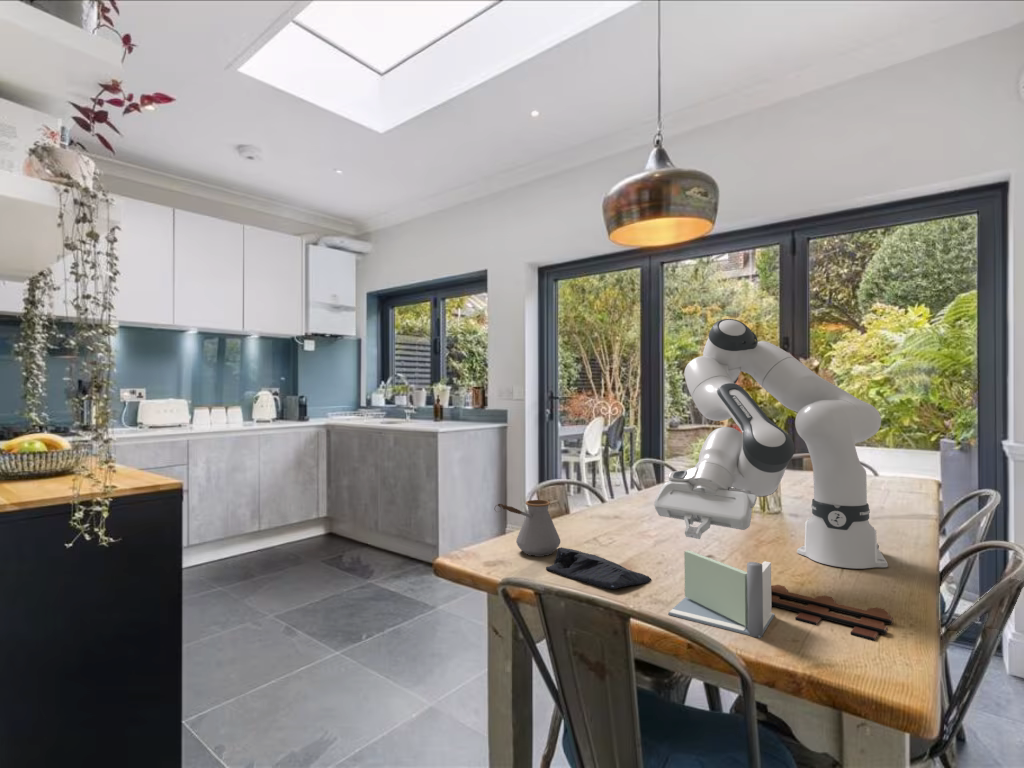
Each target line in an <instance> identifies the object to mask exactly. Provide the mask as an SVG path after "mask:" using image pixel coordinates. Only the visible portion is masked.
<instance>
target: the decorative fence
mask: <svg viewBox="0 0 1024 768" xmlns="http://www.w3.org/2000/svg"><path fill="white" fill-rule="evenodd" d="M783 599H784V600H783ZM785 599H786V600H785ZM787 600H790V601H794V602H798V603H802V604H806V605H802V604H797V603H794V602H790V601H787ZM771 603H772V606H773V607H777V608H780V609H785V610H789V611H792V612H797V613H798V614H797V615H796V616H795V621H798V622H801V623H805V624H808V625H809V624H810V625H813V626H817V625H819V623H820V622H821V621H822V620H827V621H830V622H835V623H839V624H842V625H847V626H850V627H853V628H852V629H851V631H850V635H851V636H854V637H858V638H862V639H866V640H868V641H872V642H875V641H876V640H877V638H878V637H879V635H880V634H882V635H887V633H888V631H889V627H888V626H887V625H886V624H888V625H892V624H893V623H894V620H895V617H893V616H891V615H890V613H889V612H888V611H887V610H886V609H885V608H881V607H869V608H867V609H866V610H865V609H862V608H857V607H853V606H849V605H844V604H841V603H837V601H836V600H835V599H834V598H833V597H832V596H829V595H817V596H816V597H811V596H807V595H803V594H800V593H799V594H798V593H794V592H789V590H788V588H787V587H786V586H785V585H780V584H774V585H773V584H771ZM831 611H834V612H831ZM835 612H838V613H835ZM839 613H842V614H846V615H851V616H855V617H859V618H854V617H850V616H846V615H842V614H839ZM877 636H878V637H877Z"/></svg>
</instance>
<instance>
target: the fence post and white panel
mask: <svg viewBox="0 0 1024 768" xmlns="http://www.w3.org/2000/svg"><path fill="white" fill-rule="evenodd" d="M746 572H747V600H748V632H749V633H750V635H749V636H750V637H753V638H758V635H761V638H763V637H764V633H763V623H764V622H765V620H766V619H767V617H768V616H769V614H770V613H772V603H771V586H772V562H770V561H764V560H763V562H762V563H760V562H757V561H756V562H755V561H749V562H746Z"/></svg>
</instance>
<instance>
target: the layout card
mask: <svg viewBox="0 0 1024 768" xmlns="http://www.w3.org/2000/svg"><path fill="white" fill-rule="evenodd" d="M668 616H673V617H677V618H679V619H684V620H688V621H692V622H696V623H699V624H700V623H701V624H703V625H708V626H712V627H716V628H719V629H722V630H723V629H724V630H727V631H731V632H736V633H738V634H743V635H747V636H750V633H749V632H748V625H747V626H744V625H742V624H740V623H738V622H736V621H734V620H732V619H730V618H728V617H726V616H724V615H722V614H720V613H718V612H716V611H714V610H712V609H710V608H707V607H705V606H703V605H701V604H699V603H697V602H695V601H693V600H691V599H689V598H687V597H685V596H684V598H683V599H682V600H680V601H679V602H678V604H676V605H675V606H674V607H672V609H671V610H669V611H668ZM774 617H775V613H773V612H771V613H770V614H769V616H768V617H767V619H766V620H765V622H764V623H763V634H764V633H765V632H766V630H767V629H768V626H769V625H770V623H771V622H772V620H773V619H774ZM757 638H758V639H761V638H762V637H761V635H758V637H757Z"/></svg>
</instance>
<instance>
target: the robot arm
mask: <svg viewBox="0 0 1024 768" xmlns="http://www.w3.org/2000/svg"><path fill="white" fill-rule="evenodd" d="M702 352H703V353H702V355H701V356H697V357H695V358H693V359H691V360H690V361H689V362H688V363H687V365H686V366H685V368H684V373H683V375H684V379H685V383H686V387H687V389H688V392H689V394H690V397H691V399H692V401H693V403H694V405H695V406H696V409H697V410H698V411H699V412H700V414H701V415H702V416H703V417H704V418H705V419H707V420H710V421H715V422H720V421H727V420H730V419H731V418H732V420H733V421H734V423H735V424H736V425H737V427H738V429H736V428H734V427H731V426H730V427H729V426H722V427H718V428H715V429H714V430H712V431H711V432H710V433H709V434H708V436H707V437H706V439H705V440H704V442H703V444H702V447H701V449H700V451H699V454H698V462H697V463H696V464H695V465H694V467H692V468H691V467H690V468H688V469H682V470H676V471H671V472H669V474H668V481H666V482H665V483H664V484H663V485H662V486H661V487H660V490H659V491H658V493H657V495H656V497H655V500H654V503H653V505H654V509H655V512H657V514H658V516H659V517H664V518H671V519H676V520H682V521H684V523H685V526H686V527H685V529H684V535H685V537H687V538H691V539H697V540H700V539H701V537H702V535H703V534H704V533H705V532H706V531H708V530H709V529H710V528H711V525H713V526H719V527H724V528H729V529H734V530H735V529H736V530H741V531H742V530H743V531H745V530H747V529H748V528H750V527H751V522H752V512H753V511H752V510H753V509H752V508H755V505H756V502H757V499H758V498H757V497H761V498H762V497H768V496H771V495H773V494H775V492H777V491H778V489H779V486H780V483H781V481H782V478H783V477H784V474H785V472H786V471H787V467H788V465H789V463H790V462H791V460H792V458H793V457H794V454H795V450H796V449H795V443H794V440H793V439H792V437H791V436H790V435H789V433H787V432H786V431H785V430H784V429H782V428H781V427H780V426H778V425H777V424H776V423H774V421H772V419H770V418H769V417H768V416H767V414H766V413H765V412H764V410H763V409H762V408H761V407H760V406H759V405H758V403H757V402H756V401H755V400H754V399H753V397H752V396H751V395H750V394H749V392H748V391H746V390H745V388H743V387H742V386H741V385H739V384H737V381H738V380H739V376H740V374H741V372H742V373H746V374H748V375H750V376H751V377H752V378H753V380H755V382H757V383H758V384H759V386H760V387H762V388H763V389H764V390H765V391H766V392H767V393H768V394H769V395H771V396H772V397H773V398H774V399H775V400H777V402H779V403H780V404H781V405H783V406H784V407H785V408H787V409H789V410H791V411H793V412H796V413H797V414H796V416H795V420H794V426H795V429H796V433H797V435H798V436H799V437H800V438H801V439H802V440H803V441H804V442H805V445H806V447H807V450H808V454H809V458H810V461H811V466H812V472H813V474H812V475H813V499H812V501H811V507H810V508H811V514H812V516H811V517H810V518H809V519H807V520H806V521H805V522H804V523H805V524H804V525H805V527H804V544H803V545H802V546H800V547H798V548H797V550H796V553H797V554H798V555H802V556H805V557H806V558H809V559H810V560H812V561H814V562H817V563H820V564H823V565H828V566H832V567H837V568H845V569H857V570H858V569H871V568H888V567H889V566H888V565H889V564H888V562H887V559H886V558H885V557H884V555H883V553H882V551H880V548H879V547H880V545H879V544H878V542H877V539H878V538H877V536H878V535H877V530H876V529H875V527H874V526H872V525H871V523H870V521H869V520H870V512H871V511H870V510H871V509H870V506H869V503H868V501H867V499H868V496H867V493H868V492H867V491H868V490H867V488H868V487H867V471H866V469H865V468H864V466H863V465H862V463H861V461H860V459H859V456H858V452H857V449H856V444H859V443H863V442H865V441H866V440H868V439H870V438H872V437H874V436H875V435H876V434H877V433H878V432H879V430H880V428H881V425H882V418H881V417H882V416H881V415H880V412H879V411H878V410H877V408H876V407H875V406H874V405H872V404H870V403H868V402H866V401H863V400H861V399H860V398H857V397H856V396H854V395H853V394H852V393H849V392H848V391H846V390H844V389H843V388H841V387H839V386H837V385H835V384H833V383H831V382H829V381H828V380H827V379H825V378H822V377H821V376H820V375H818V374H817V373H816V372H814V371H813V370H811V369H810V368H809V367H808V366H806V365H805V364H803V363H802V362H801V361H800V360H798V359H797V358H795V357H794V356H793V355H792V354H790V353H789V352H788V351H785V350H784V349H782V348H781V347H779V346H778V345H775V344H774V343H772V342H769V341H765V340H760V341H759V340H758V337H757V334H755V332H754V331H752V330H751V329H750V327H749V326H747V325H746V324H745V323H743V322H742V321H740V320H738V319H735V318H724V319H720V320H718V321H716V322H715V323H714V324H713V325H712V327H711V328H710V331H709V332H708V337H707V340H706V342H705V345H704V348H703V351H702ZM739 429H740V430H739ZM740 431H741V432H740ZM694 522H695V523H699V525H698V526H697V527H695V526H693V525H694Z"/></svg>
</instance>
